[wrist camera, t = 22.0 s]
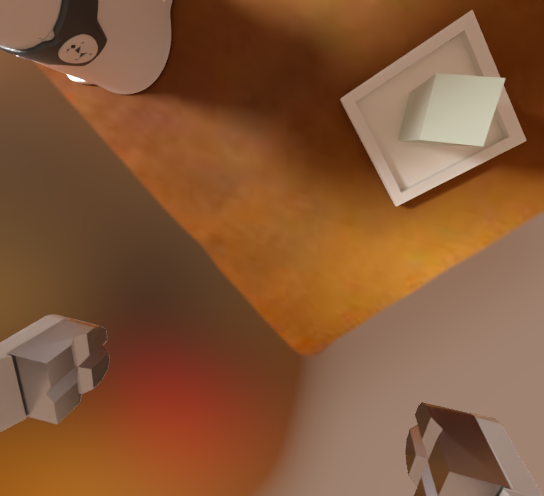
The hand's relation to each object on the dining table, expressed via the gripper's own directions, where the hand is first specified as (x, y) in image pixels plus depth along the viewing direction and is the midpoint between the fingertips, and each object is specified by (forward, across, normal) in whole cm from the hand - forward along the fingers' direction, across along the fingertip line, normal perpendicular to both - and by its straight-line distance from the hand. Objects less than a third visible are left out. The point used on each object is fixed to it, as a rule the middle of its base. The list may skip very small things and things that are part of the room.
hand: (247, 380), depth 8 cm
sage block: (+33, -10, -9) cm, 36 cm away
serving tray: (+34, -10, -9) cm, 37 cm away
